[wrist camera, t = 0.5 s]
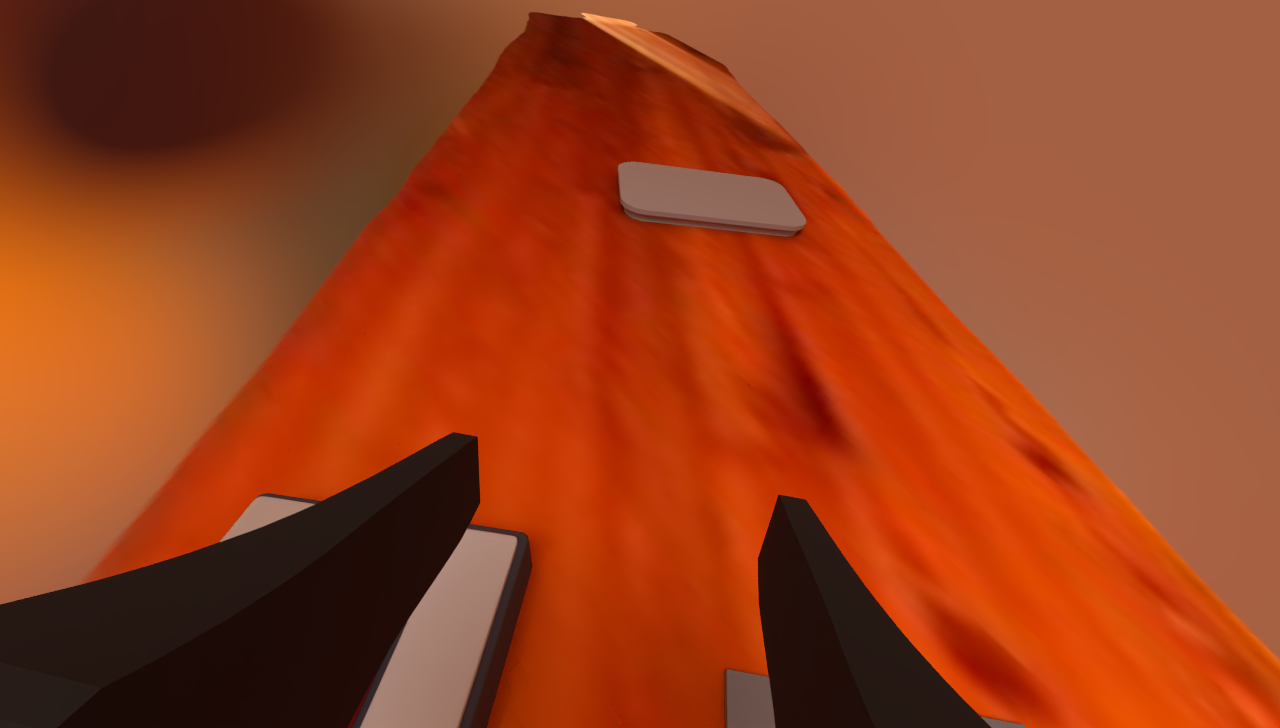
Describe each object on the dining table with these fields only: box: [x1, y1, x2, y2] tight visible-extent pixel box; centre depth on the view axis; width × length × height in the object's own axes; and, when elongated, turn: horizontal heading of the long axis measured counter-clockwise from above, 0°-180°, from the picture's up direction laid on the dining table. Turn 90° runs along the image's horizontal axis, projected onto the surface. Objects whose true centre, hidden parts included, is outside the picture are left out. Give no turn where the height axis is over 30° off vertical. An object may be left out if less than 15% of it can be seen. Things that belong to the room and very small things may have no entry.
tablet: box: [618, 162, 806, 237], centre depth 68 cm, size 16×26×2 cm, turn 94°
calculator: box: [220, 493, 532, 728], centre depth 22 cm, size 11×4×15 cm
